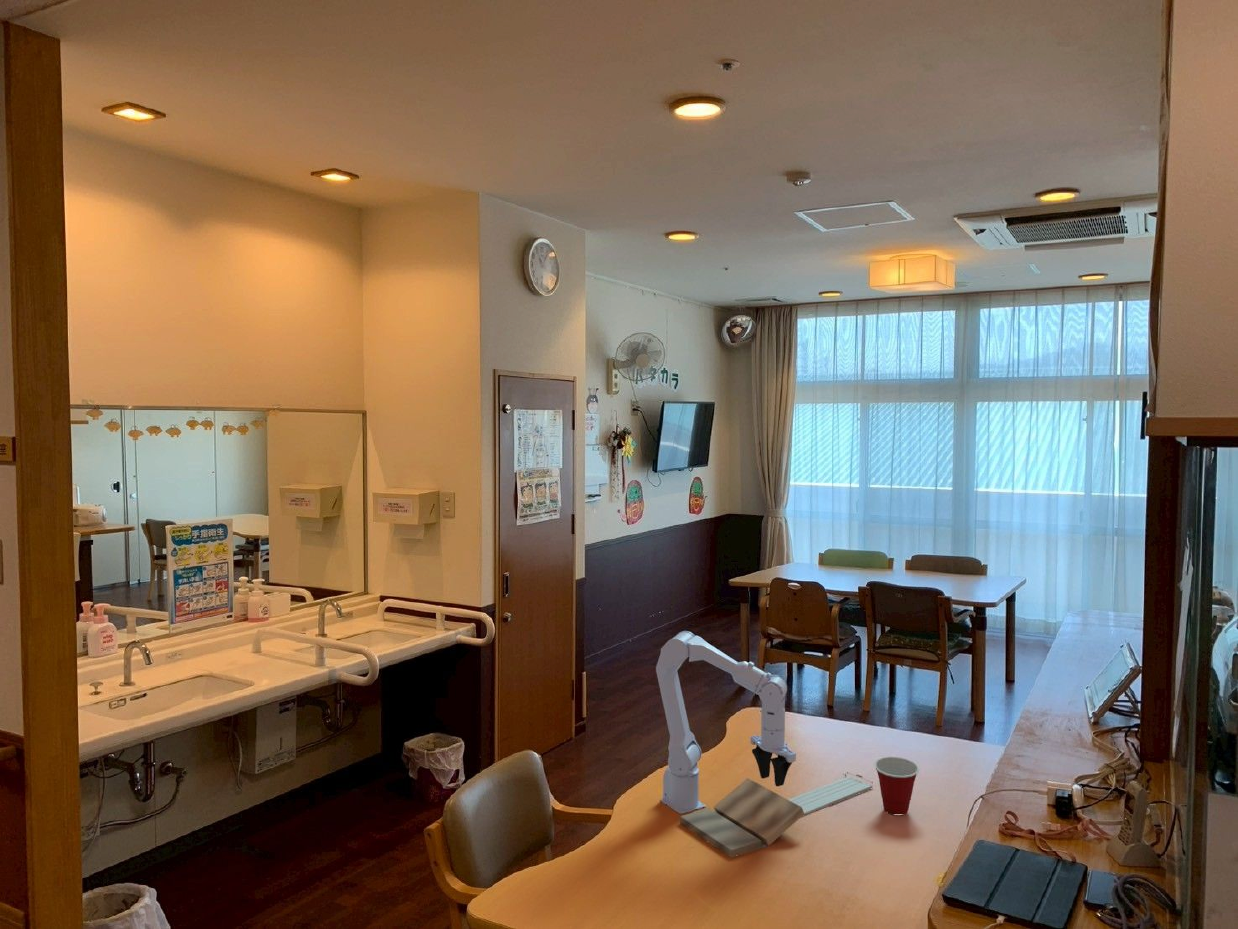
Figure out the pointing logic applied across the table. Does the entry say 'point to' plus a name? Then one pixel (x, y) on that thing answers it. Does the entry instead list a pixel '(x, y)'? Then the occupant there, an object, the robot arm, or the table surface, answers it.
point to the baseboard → (830, 794)
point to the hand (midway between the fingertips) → (772, 781)
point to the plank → (759, 811)
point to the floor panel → (721, 832)
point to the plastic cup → (896, 783)
